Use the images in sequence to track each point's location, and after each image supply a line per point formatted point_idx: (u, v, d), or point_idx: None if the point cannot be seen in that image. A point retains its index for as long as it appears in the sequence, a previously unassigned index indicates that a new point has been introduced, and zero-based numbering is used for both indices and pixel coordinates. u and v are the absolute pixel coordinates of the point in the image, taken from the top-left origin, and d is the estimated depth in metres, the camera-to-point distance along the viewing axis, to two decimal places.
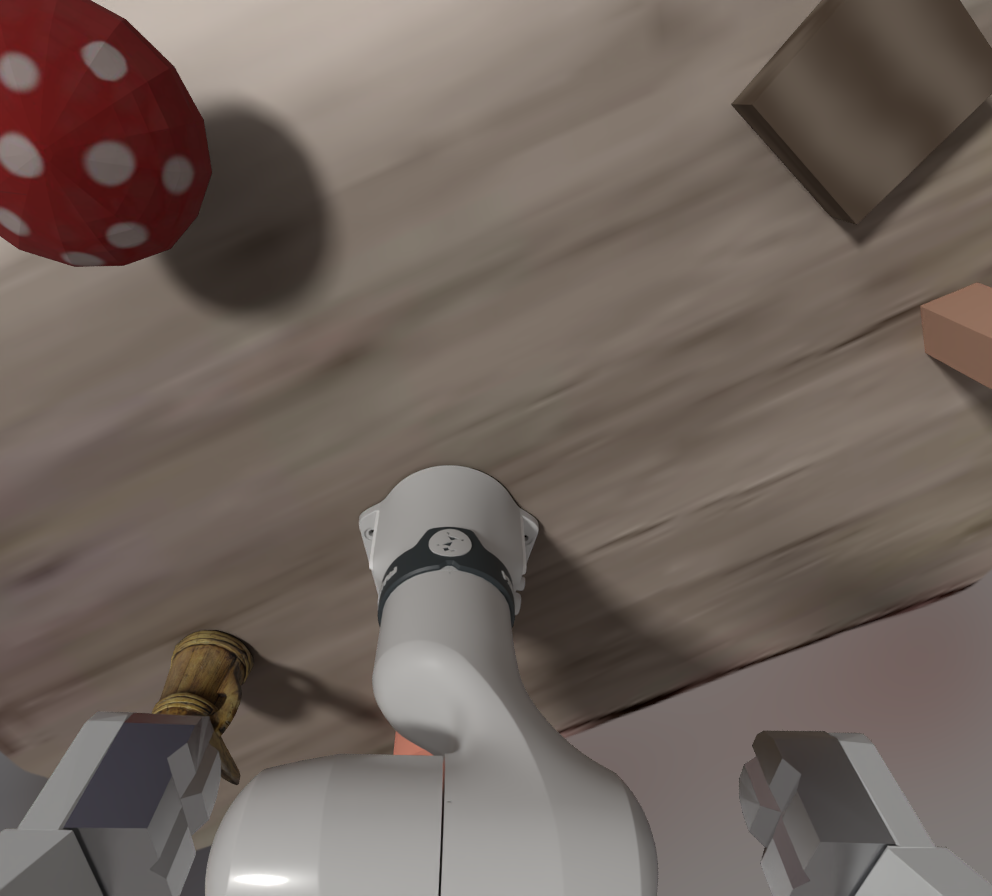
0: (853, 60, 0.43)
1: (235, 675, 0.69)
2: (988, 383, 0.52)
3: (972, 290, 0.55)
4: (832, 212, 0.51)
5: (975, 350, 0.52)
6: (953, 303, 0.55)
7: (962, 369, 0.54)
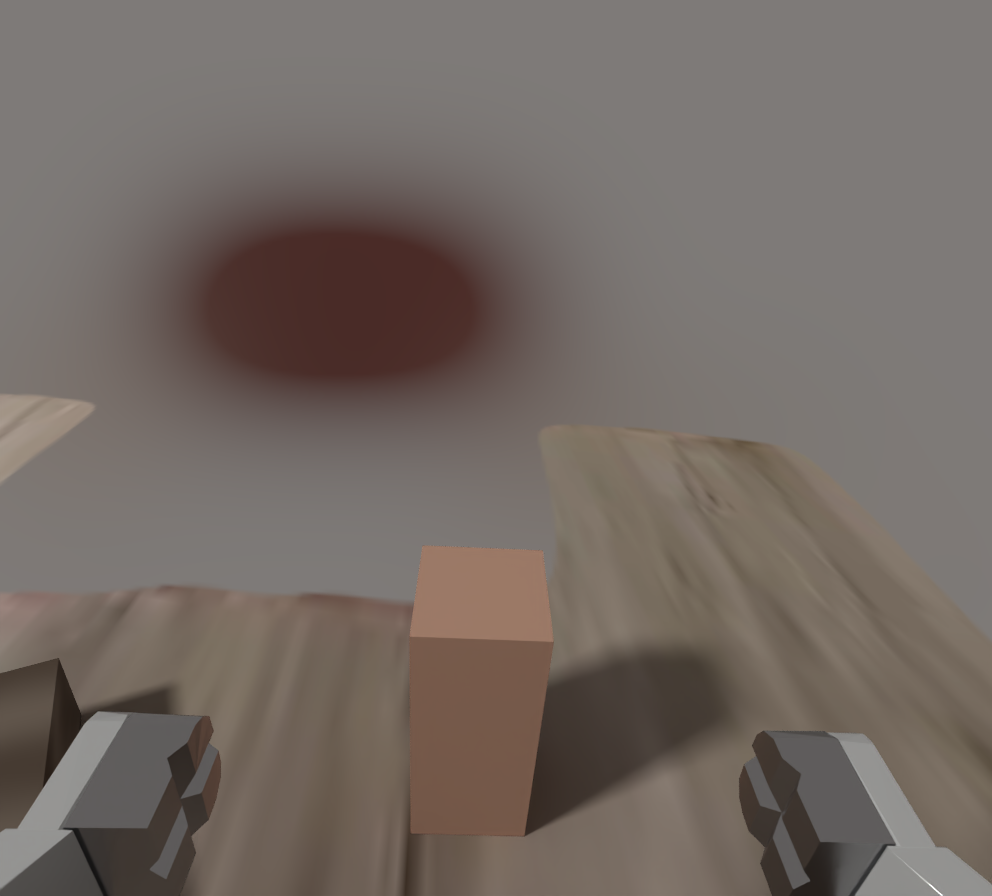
0: None
1: None
2: (529, 713, 0.24)
3: None
4: None
5: (461, 735, 0.24)
6: None
7: (524, 764, 0.25)
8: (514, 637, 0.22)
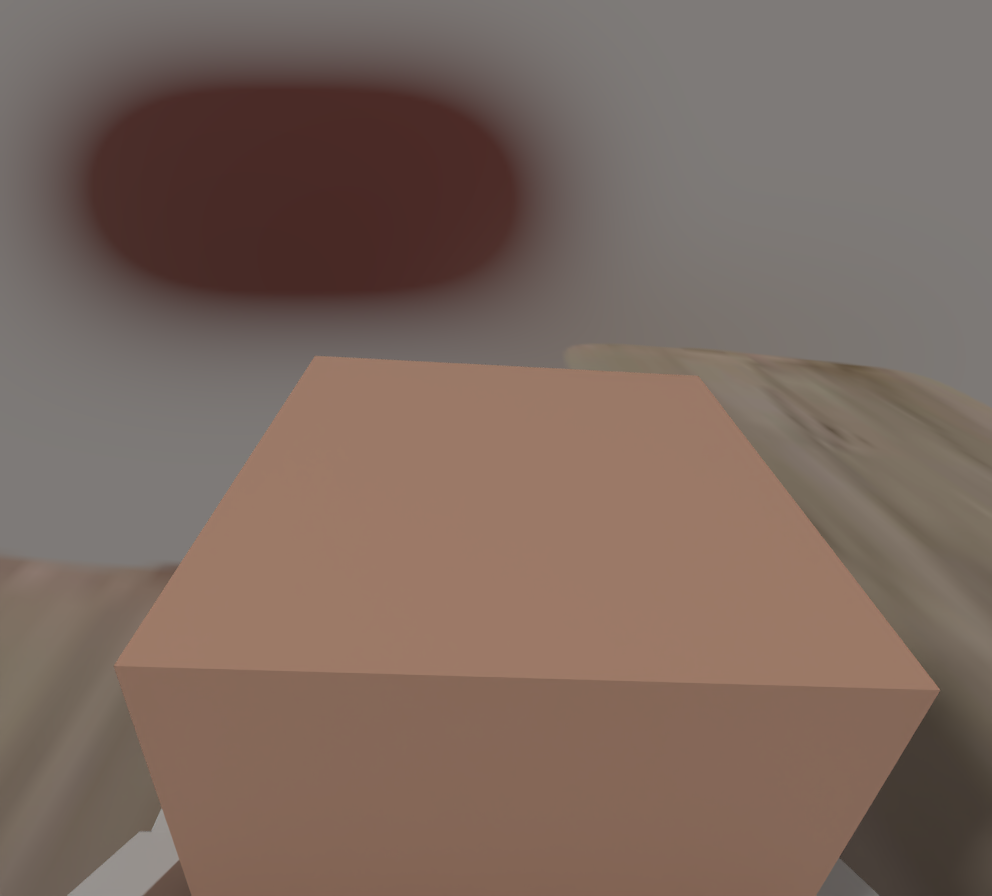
0: None
1: None
2: None
3: None
4: None
5: None
6: None
7: None
8: (716, 667, 0.04)
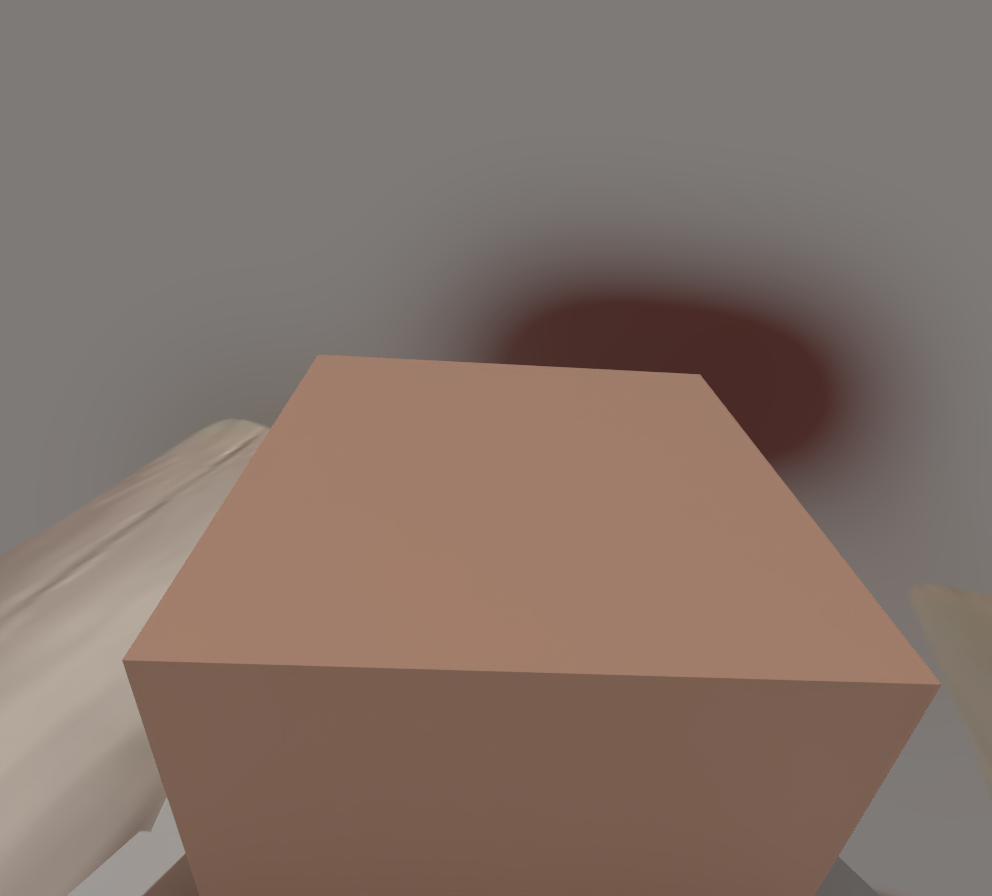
0: None
1: None
2: None
3: None
4: None
5: None
6: None
7: None
8: (718, 661, 0.04)
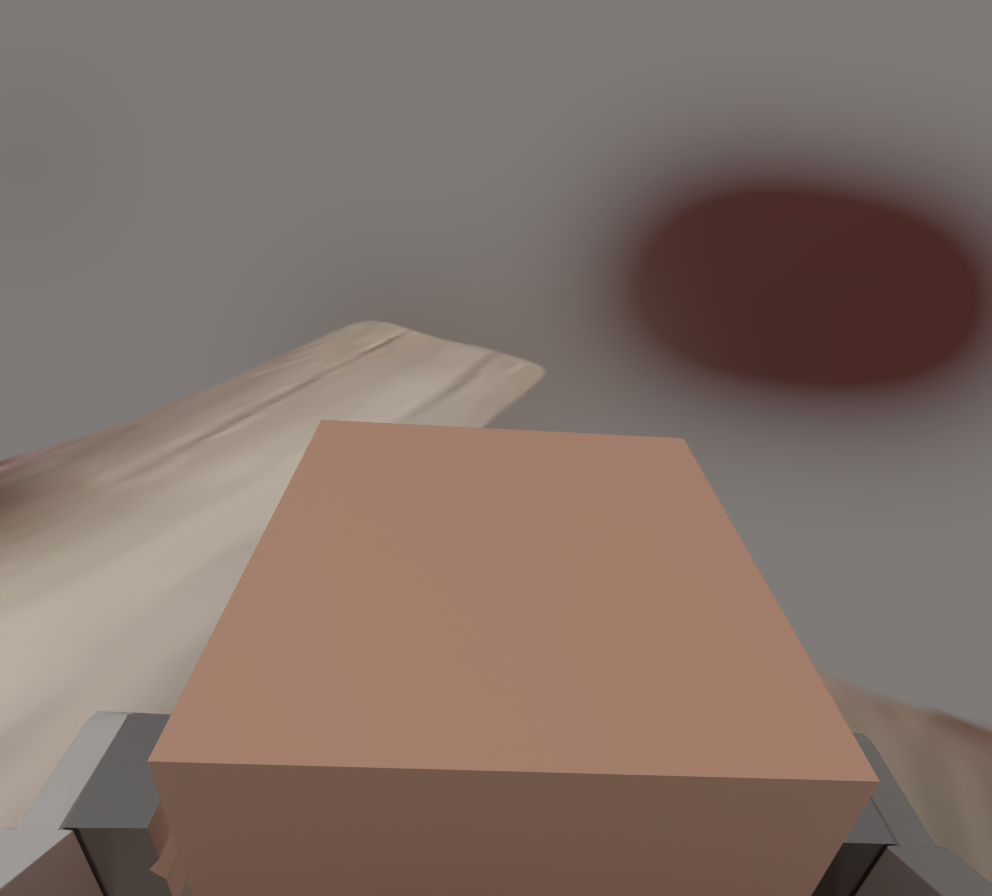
0: None
1: None
2: None
3: None
4: None
5: None
6: None
7: None
8: (680, 758, 0.04)
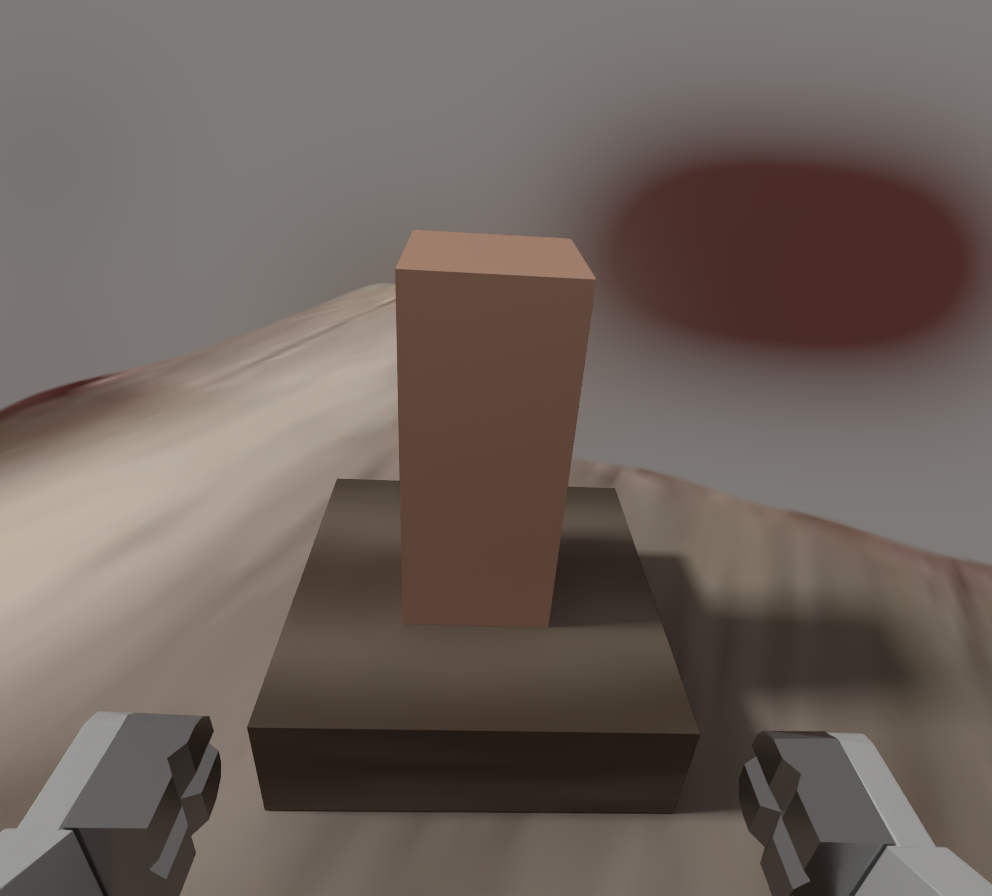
0: (394, 578, 0.23)
1: None
2: (559, 414, 0.17)
3: None
4: (656, 790, 0.20)
5: (467, 453, 0.18)
6: None
7: (551, 506, 0.19)
8: (541, 275, 0.16)
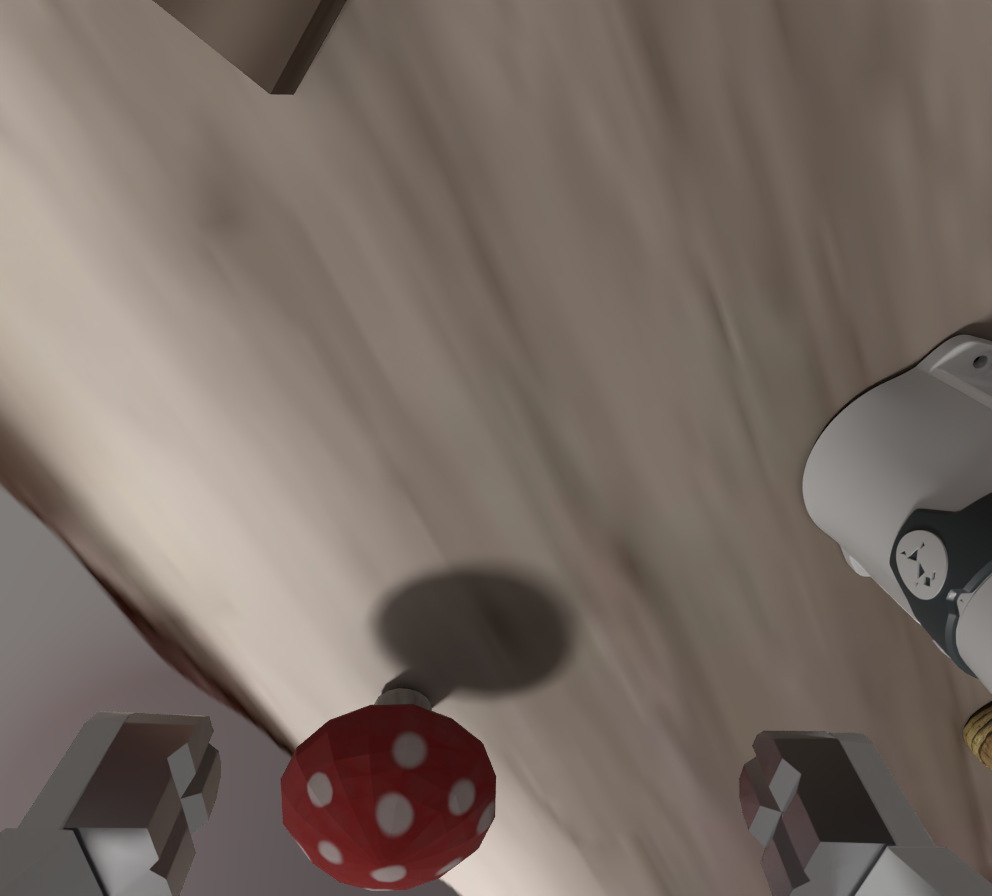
0: None
1: None
2: None
3: None
4: None
5: None
6: None
7: None
8: None
